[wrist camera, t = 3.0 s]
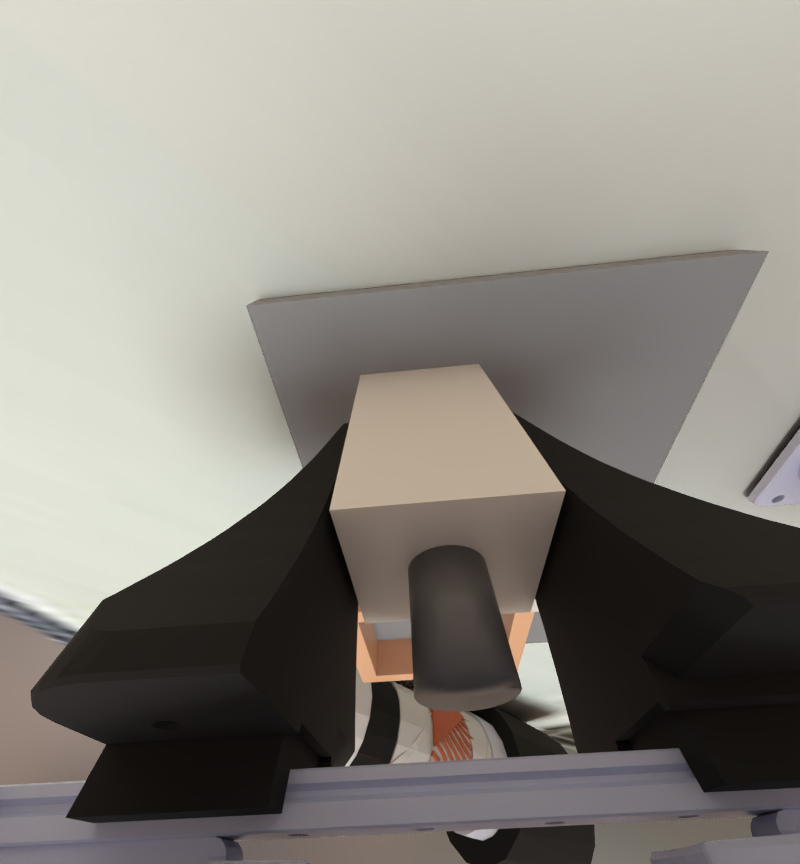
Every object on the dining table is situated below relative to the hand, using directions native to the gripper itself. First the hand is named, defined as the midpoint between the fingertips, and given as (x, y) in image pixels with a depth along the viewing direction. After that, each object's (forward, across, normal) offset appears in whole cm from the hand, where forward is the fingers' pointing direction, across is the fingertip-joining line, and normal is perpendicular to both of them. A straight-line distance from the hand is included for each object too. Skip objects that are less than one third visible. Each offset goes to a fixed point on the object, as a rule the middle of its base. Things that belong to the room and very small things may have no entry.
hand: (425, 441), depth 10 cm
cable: (+3, +2, +31) cm, 31 cm away
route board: (+2, -2, +8) cm, 8 cm away
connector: (+1, 0, 0) cm, 1 cm away
